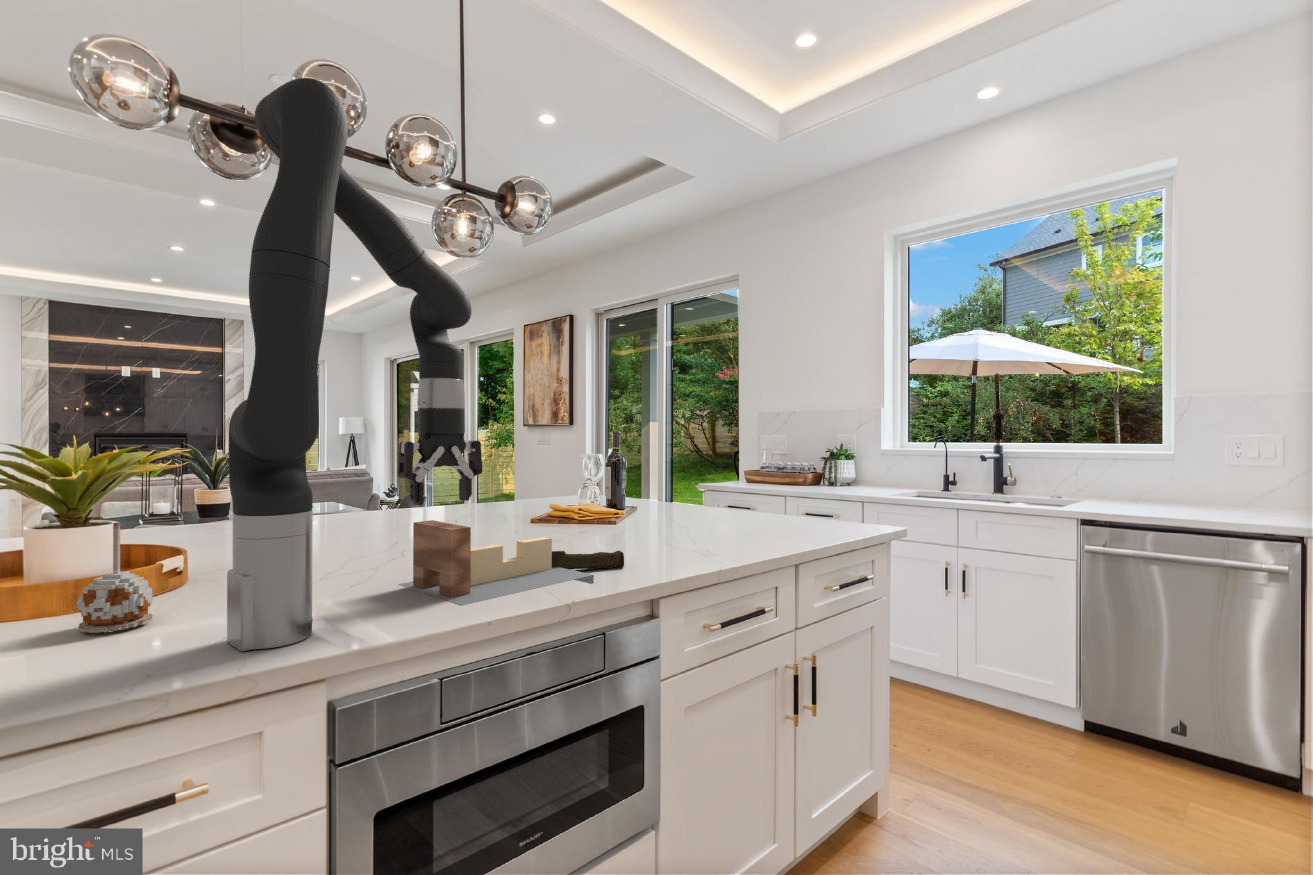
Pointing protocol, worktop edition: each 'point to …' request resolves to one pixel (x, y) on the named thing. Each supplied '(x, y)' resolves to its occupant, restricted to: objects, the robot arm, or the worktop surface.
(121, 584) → the decorative ornament
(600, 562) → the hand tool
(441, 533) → the mahogany slotted plate
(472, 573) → the slotted plate stand
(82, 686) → the worktop surface
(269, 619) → the robot arm
